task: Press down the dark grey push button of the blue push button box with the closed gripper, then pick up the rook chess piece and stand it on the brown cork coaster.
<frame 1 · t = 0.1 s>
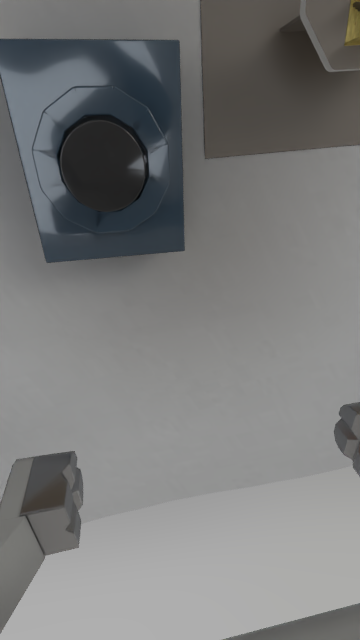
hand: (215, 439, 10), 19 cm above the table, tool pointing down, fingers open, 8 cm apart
dark grey push button: (104, 167, 16), point 7 cm above the table, slide at 0.1 cm
blue push button box: (106, 160, 22), on the table
platform: (333, 45, 21), on the table
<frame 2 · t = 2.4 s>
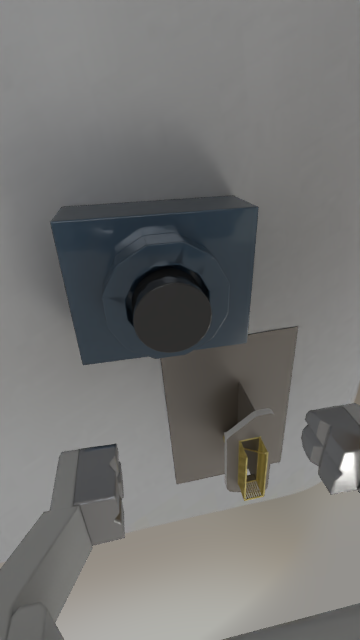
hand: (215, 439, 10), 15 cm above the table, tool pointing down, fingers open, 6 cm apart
dark grey push button: (170, 310, 17), point 7 cm above the table, slide at 0.1 cm
blue push button box: (155, 267, 23), on the table
platform: (229, 413, 31), on the table
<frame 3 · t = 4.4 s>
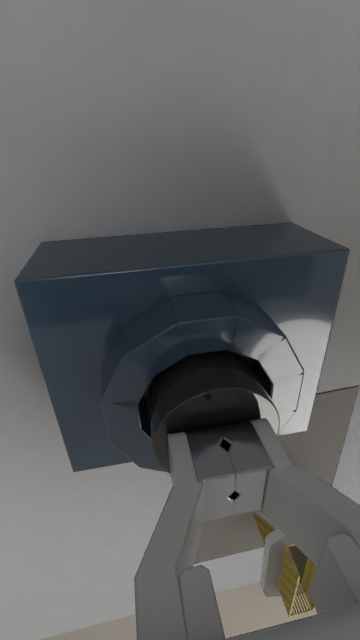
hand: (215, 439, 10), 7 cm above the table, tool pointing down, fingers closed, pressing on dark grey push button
dark grey push button: (209, 414, 11), point 6 cm above the table, slide at -0.2 cm, touching gripper
blue push button box: (177, 321, 16), on the table
platform: (262, 486, 25), on the table
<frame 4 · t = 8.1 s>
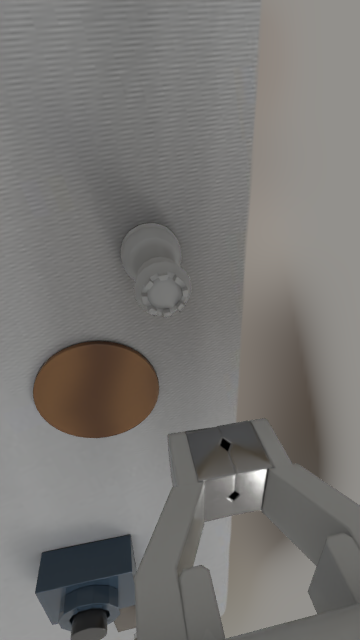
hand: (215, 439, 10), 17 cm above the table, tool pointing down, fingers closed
dark grey push button: (89, 624, 37), point 7 cm above the table, slide at 0.1 cm
blue push button box: (92, 560, 43), on the table
coaster: (98, 391, 29), on the table
rook chess piece: (149, 250, 24), on the table
platform: (146, 599, 52), on the table
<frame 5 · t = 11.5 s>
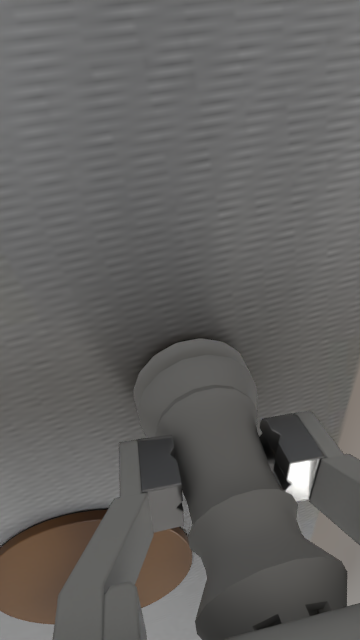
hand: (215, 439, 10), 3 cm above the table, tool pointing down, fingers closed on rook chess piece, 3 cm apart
coaster: (95, 568, 18), on the table
rook chess piece: (188, 377, 13), on the table, touching gripper
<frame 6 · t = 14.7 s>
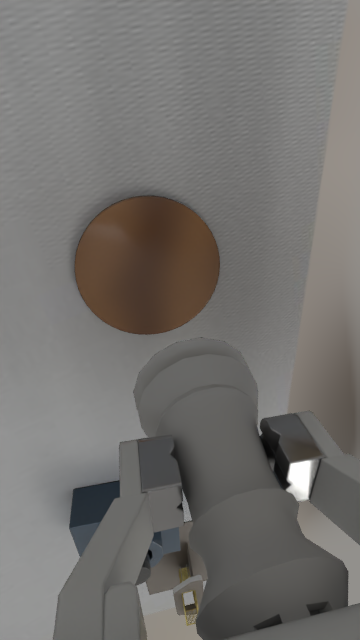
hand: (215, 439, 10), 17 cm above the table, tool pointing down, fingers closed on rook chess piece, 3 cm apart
dark grey push button: (130, 565, 33), point 7 cm above the table, slide at 0.1 cm
blue push button box: (128, 503, 38), on the table
coaster: (149, 270, 25), on the table
rook chess piece: (188, 376, 13), point 14 cm above the table, touching gripper
platform: (182, 556, 47), on the table
when the fingers open (4 cm above the table, at t = 18.0 s): rook chess piece stays where it is, resting on coaster.
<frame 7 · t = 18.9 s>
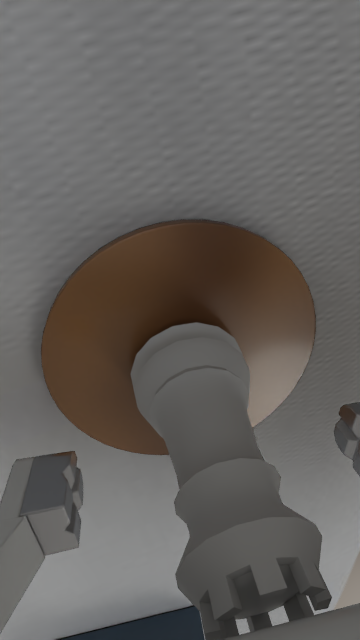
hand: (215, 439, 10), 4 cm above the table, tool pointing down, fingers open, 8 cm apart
coaster: (185, 354, 13), on the table
rook chess piece: (184, 361, 13), resting on coaster
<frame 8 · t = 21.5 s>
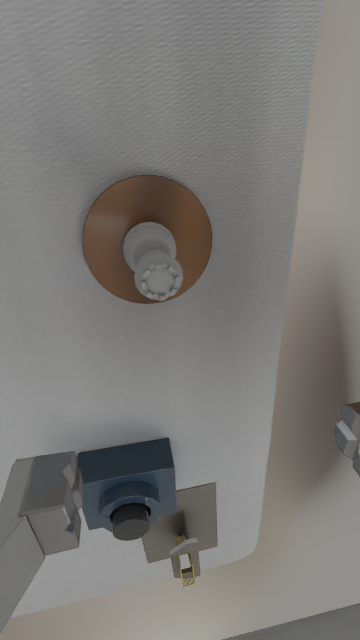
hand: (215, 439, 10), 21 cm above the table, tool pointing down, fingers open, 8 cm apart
dark grey push button: (130, 520, 36), point 7 cm above the table, slide at 0.1 cm
blue push button box: (128, 468, 41), on the table
coaster: (149, 244, 28), on the table
rook chess piece: (148, 246, 28), resting on coaster
platform: (179, 524, 50), on the table
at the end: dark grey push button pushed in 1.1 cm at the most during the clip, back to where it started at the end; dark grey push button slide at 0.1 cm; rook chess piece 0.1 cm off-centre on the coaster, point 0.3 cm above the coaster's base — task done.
